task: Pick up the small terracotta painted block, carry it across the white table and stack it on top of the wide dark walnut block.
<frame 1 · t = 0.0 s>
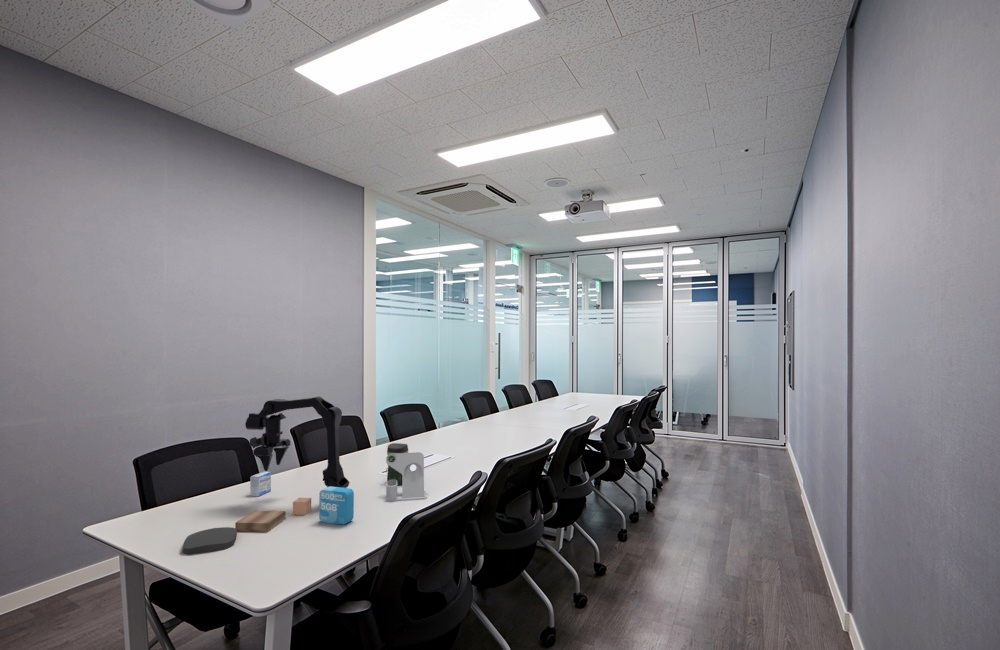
hand: (272, 467, 194), 15 cm above the table, tool pointing down, fingers open, 9 cm apart
coffee jar: (397, 483, 222), on the table
terracotta block: (302, 512, 184), on the table
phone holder: (406, 497, 203), on the table
media streaming box: (210, 545, 156), on the table
data package: (336, 522, 175), on the table
medicine box: (260, 494, 206), on the table
walnut block: (261, 524, 171), on the table
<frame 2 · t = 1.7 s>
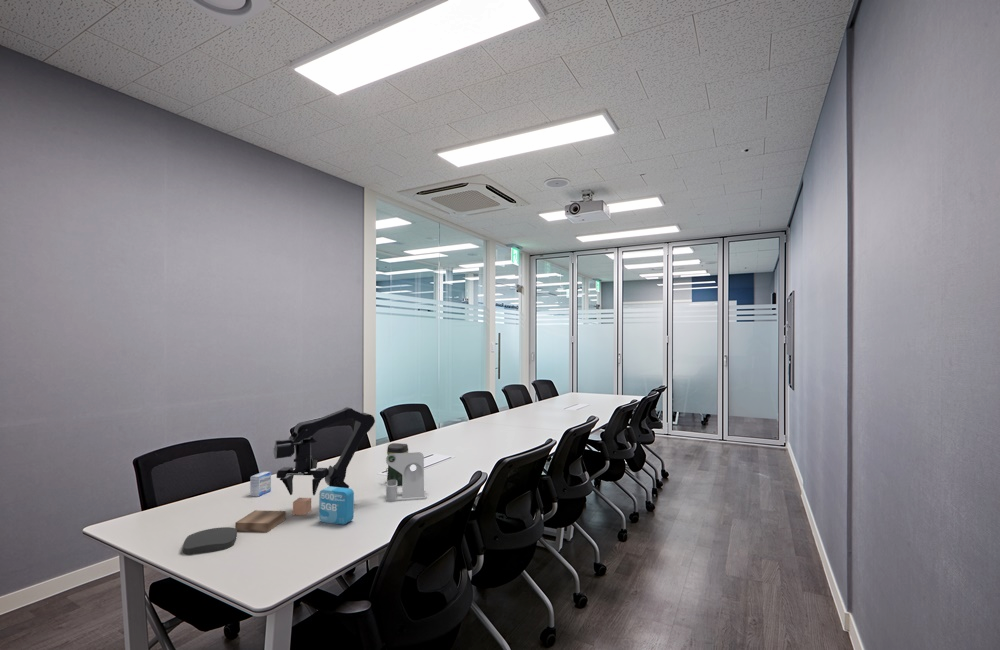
hand: (302, 494, 184), 7 cm above the table, tool pointing down, fingers open, 9 cm apart
nothing on the table moved.
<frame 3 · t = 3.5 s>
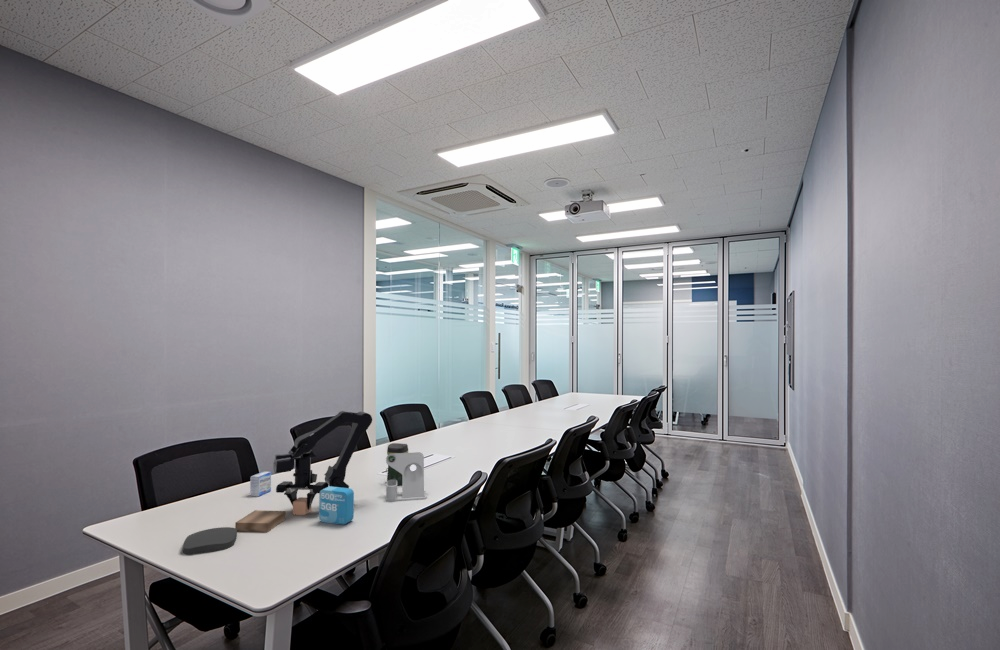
hand: (302, 509, 184), 1 cm above the table, tool pointing down, fingers closed on terracotta block, 5 cm apart
terracotta block: (302, 512, 184), on the table, touching gripper
everything else where it was.
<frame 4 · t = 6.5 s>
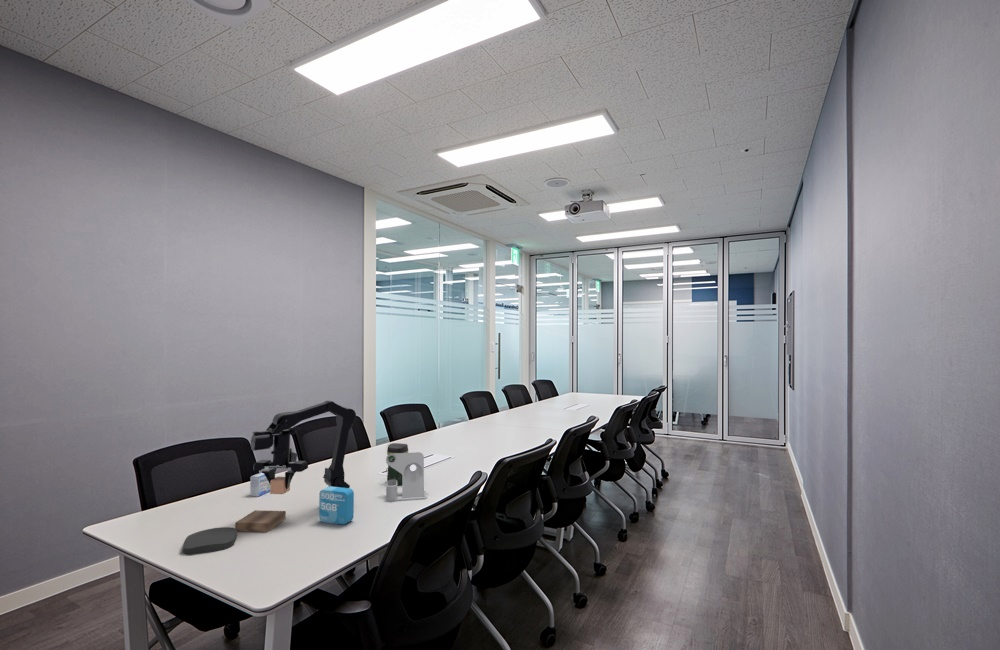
hand: (280, 488, 177), 11 cm above the table, tool pointing down, fingers closed on terracotta block, 5 cm apart
terracotta block: (280, 492, 177), point 10 cm above the table, touching gripper
everything else where it was.
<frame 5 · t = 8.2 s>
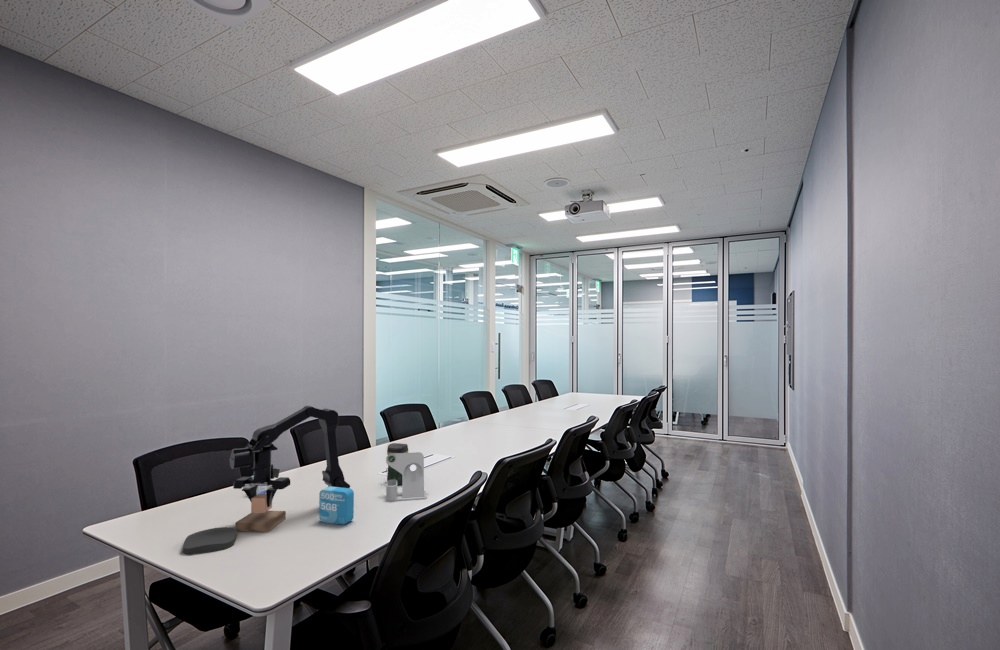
hand: (261, 506, 172), 7 cm above the table, tool pointing down, fingers closed on terracotta block, 5 cm apart
terracotta block: (261, 509, 172), point 5 cm above the table, touching gripper
everything else where it was.
when the fingers open (5 cm above the table, at t = 9.6 s): terracotta block drops 1 cm, resting on walnut block.
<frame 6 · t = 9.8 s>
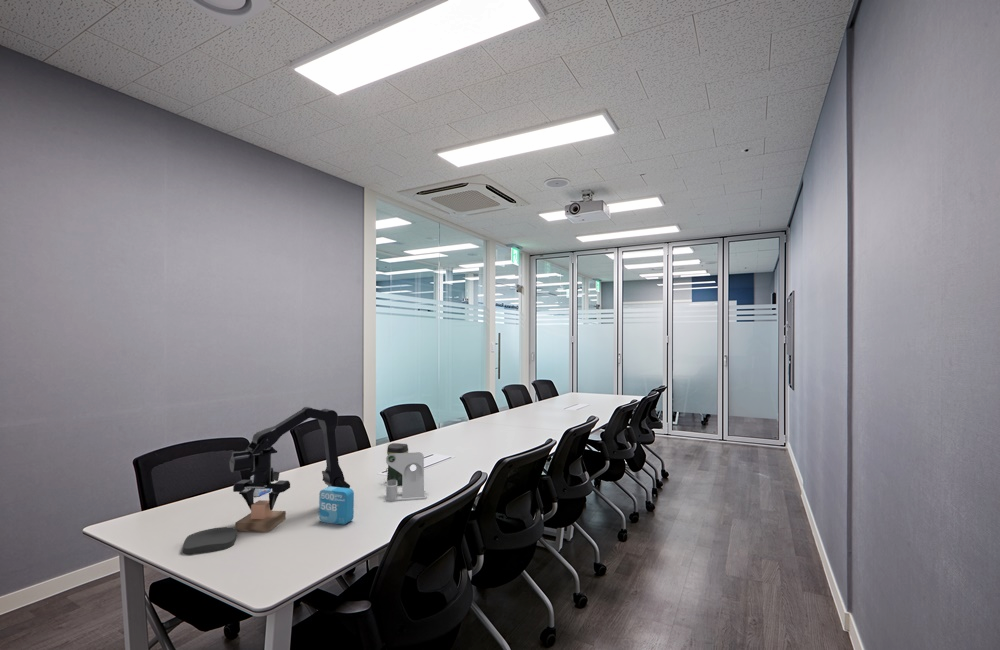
hand: (261, 509, 172), 5 cm above the table, tool pointing down, fingers open, 7 cm apart
terracotta block: (261, 516, 172), point 3 cm above the table, touching walnut block
everything else where it was.
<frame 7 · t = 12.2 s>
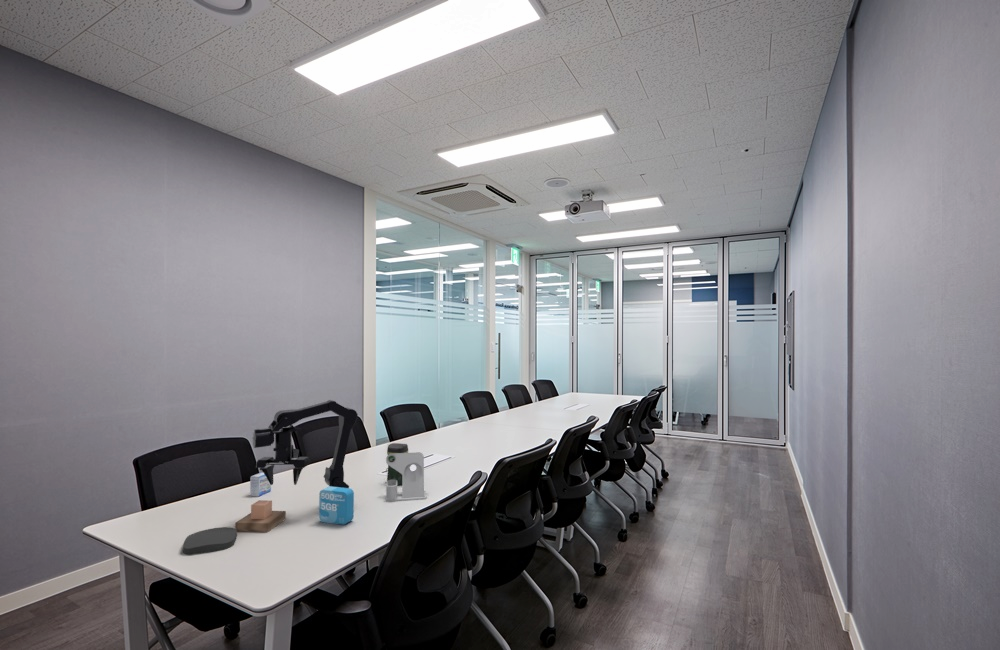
hand: (283, 484, 180), 12 cm above the table, tool pointing down, fingers open, 9 cm apart
nothing on the table moved.
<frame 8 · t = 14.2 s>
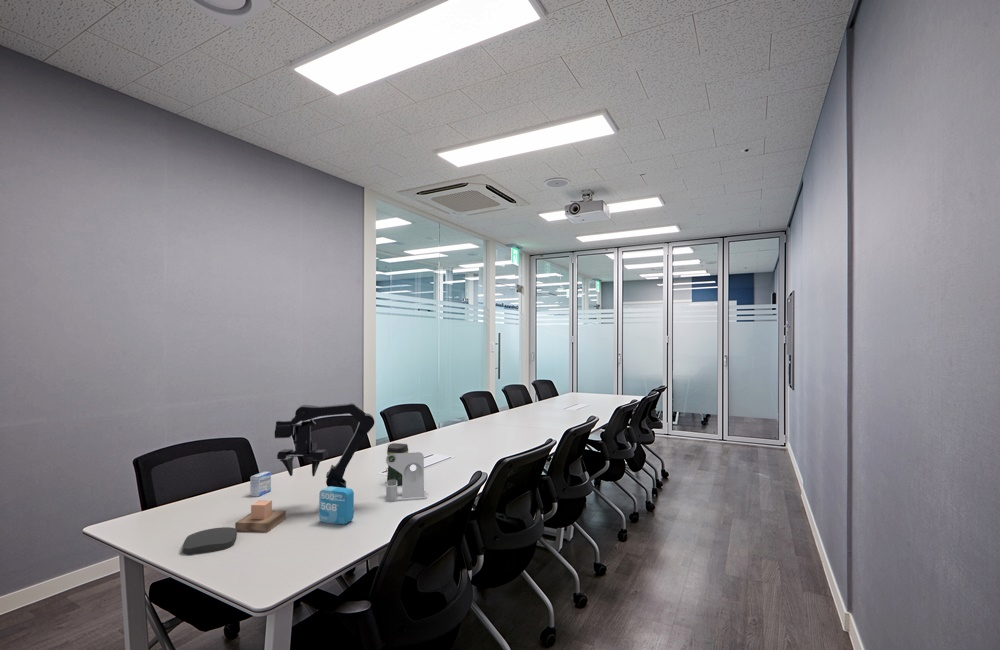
hand: (302, 476, 188), 13 cm above the table, tool pointing down, fingers open, 9 cm apart
nothing on the table moved.
at the end: terracotta block inside the target area on the walnut block (0.0 cm from its centre), point 3.0 cm above the walnut block's base; terracotta block tilted 0°; terracotta block touching walnut block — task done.
